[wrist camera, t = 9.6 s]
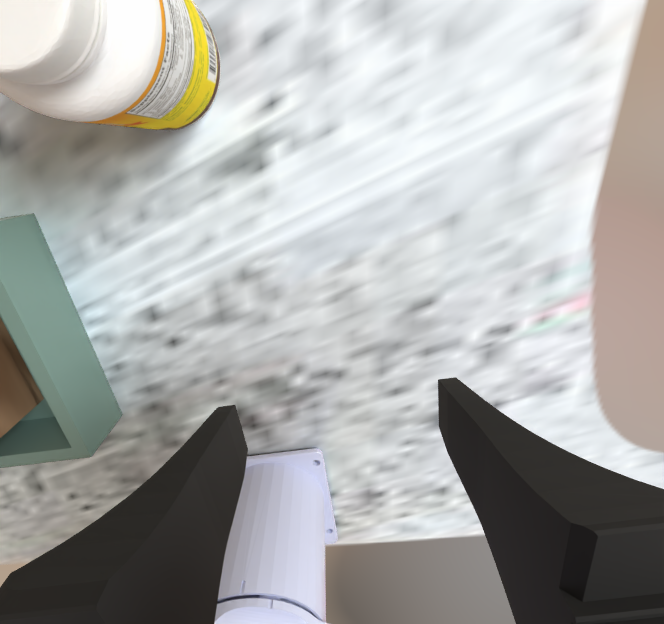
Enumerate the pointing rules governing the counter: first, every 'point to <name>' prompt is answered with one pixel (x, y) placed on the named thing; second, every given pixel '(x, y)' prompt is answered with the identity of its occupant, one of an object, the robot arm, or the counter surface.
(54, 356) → the green crate
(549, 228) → the counter surface
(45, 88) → the supplement bottle
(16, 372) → the walnut crate
